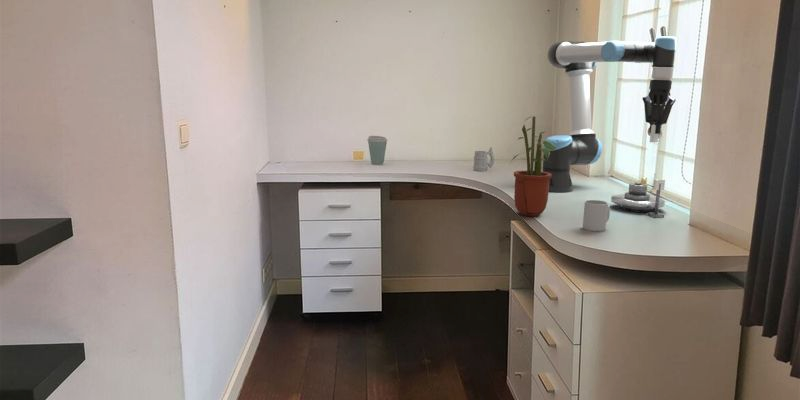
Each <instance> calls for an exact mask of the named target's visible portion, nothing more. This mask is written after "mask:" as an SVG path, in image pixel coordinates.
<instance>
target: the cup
mask: <svg viewBox="0 0 800 400" xmlns="http://www.w3.org/2000/svg"><path fill="white" fill-rule="evenodd" d="M583 206H584V207H583V218H582V219H583V220H582V228H583V229H584V230H586V231H590V232H596V231H600V232H604V231H605V230H606V229H607V223H608V222H609V220H610V216H611V210H610V206H609V203H608V202H607V201H605V200H598V199H597V200H596V199H588V200H585V201H584V205H583Z"/></svg>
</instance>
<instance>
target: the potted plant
mask: <svg viewBox="0 0 800 400" xmlns="http://www.w3.org/2000/svg"><path fill="white" fill-rule="evenodd" d="M530 118H532V121H531V123H532V124H531V127H530V128H526V126H525V124H523V126H522V128H521V132H522V134H523V137H522V136H521V137H518V139H517V140H522V139H524V144H525V152H523V154H524V153H525V155H526V165H527V166H526V169H527V170H516V171H513V177H514V179H515V181H514V193H513V194H514V196H513V197H514V206H515V208H516V210H517V212H518V213H519V214H521V215H522V216H525V217H538V216H540V215H541V214H542V213H543V212H544V211H545V210H546V208H547V204H548V200H549V192H550V191H549V179H551V176H552V174H550V173H547V172H542V169H543V160H545V159H543V157H542V155H544V154H545V155H546V157H547V160H548V157H549V154H550V152H549V151H548V150H556V149H558V148H556V147H555V146H554V145H553V144H552V143H551V142H547V141H545V140H542V138H543V134H544V133H546V131H540V133H539V132H538V133H539V136H538V139H537V143H536V150H535V141H536V139H535V138H536V116H535V115H533V116H532V115H531V116H529V117H527V118H526V119H525V120H524V121H523V122H524V123H525V121H527V120H528V119H530ZM530 130H531V142H530V143H531V146H530V147H529V145H530V144H529V139H528V133H527V132H528V131H530ZM542 146H543V147H542ZM544 146H545V147H546V148H544ZM535 151H536V152H535ZM542 153H543V154H542ZM520 154H522V153H520ZM520 154H516V155H515V156H514V157H513V158H512V159H511V161H510V163H509V164H511V163H512V161H513V160H514V159H515V158H516V157H517V156H519V155H520Z"/></svg>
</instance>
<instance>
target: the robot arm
mask: <svg viewBox="0 0 800 400" xmlns="http://www.w3.org/2000/svg"><path fill="white" fill-rule="evenodd" d="M677 41H678V40H677V38H676V36H670V35H669V36H668V35H667V36H665V35H664V36H662V35H661V36H656V37H655V39H654V41H653V42H643V41H642V42H641V41H624V40H623V41H622V40H607V41H600V42H599V41H598V42H587V41H586V42H585V41H570V40H569V41H566V40H559V41H556V42H554V43H553V44H552V45H550V46H549V48H548V51H547V53H546V54H547V60H548V62H549V64H551V66H553V67H555V68H557V69H564V72H565V76H567V78H568V80H569V81H568V82H569V100H570V101H569V102H570V103H569V104H570V122H571V124H570V125H571V131H570V133H569V134H568V135H563V134H561V135H559V134H558V135H552V136H547V138H545V139H544V141H547V142H551V143H552V144H553V145H554V146H555V147H556V148H558V149H556V150H548V151H549V152H550V154H549V157H548V160H547V157H546V155H545V154H544V153H543V154H542V155H543V157H542V159H545V160H542V169H541V172H547V173H550V174H552V176H551V179H549V192H551V193H553V192H554V193H569V192H572V191H573V183H572V176H571V173H570V171H571V170H570V169H571V166H580V165H582V166H588V165H593V164H594V163H595V164H596V162H598V161H599V159H600V158H601V155H602V154H603V153H602V151H603V145H602V142H601V140H600V139H599V138H597V134H596V132H595V131H594V130H593V129H592V107H591V86H590V84H591V82H590V75H591V74H592V73H593V69H594V68H595V67H596V65H597V63H607V62H609V63H612V62H613V63H615V62H616V63H618V62H619V63H636V64H642V63H645V64H646V63H651V70H650V72H651V73H650V78H651V79H650V80H649V87H648V88H649V92H648V94H647V95H646V96H643V97H642V101H643V104H644V118H645V122H646V123H648V124H649V130H648V132H649V134H650V135H649V143H658V141H659V134H660V133H661V128H662V125H666V124H667V122H668V120H669V116H670V113H671V110H672V108H673V105H674V104H675V102H676V99H675V98H673V97H671V93H670V91H671V90H672V83H673V81H672V79H673V75H674V67H675V60H676V59H675V58H676V51H677ZM543 148H546V147H545V146H544V145H543Z"/></svg>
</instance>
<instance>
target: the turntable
mask: <svg viewBox="0 0 800 400" xmlns="http://www.w3.org/2000/svg"><path fill="white" fill-rule="evenodd" d="M647 181H648V178H647V177H641V178H640V183H642V184H645V185H647ZM624 195H625V193H623V194H621V193H619V194H614V195H611V197H610V201H611V203H613V204H616V205H619V206H622V205H623V206H628V207H636V208H652V209H655V202H656V196H651V195H650V200H649V201H632V200H627V199H625V198H624ZM665 202H666V201H665V199H663V198H659V207H658V209H659V208H663V207H665Z"/></svg>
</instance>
